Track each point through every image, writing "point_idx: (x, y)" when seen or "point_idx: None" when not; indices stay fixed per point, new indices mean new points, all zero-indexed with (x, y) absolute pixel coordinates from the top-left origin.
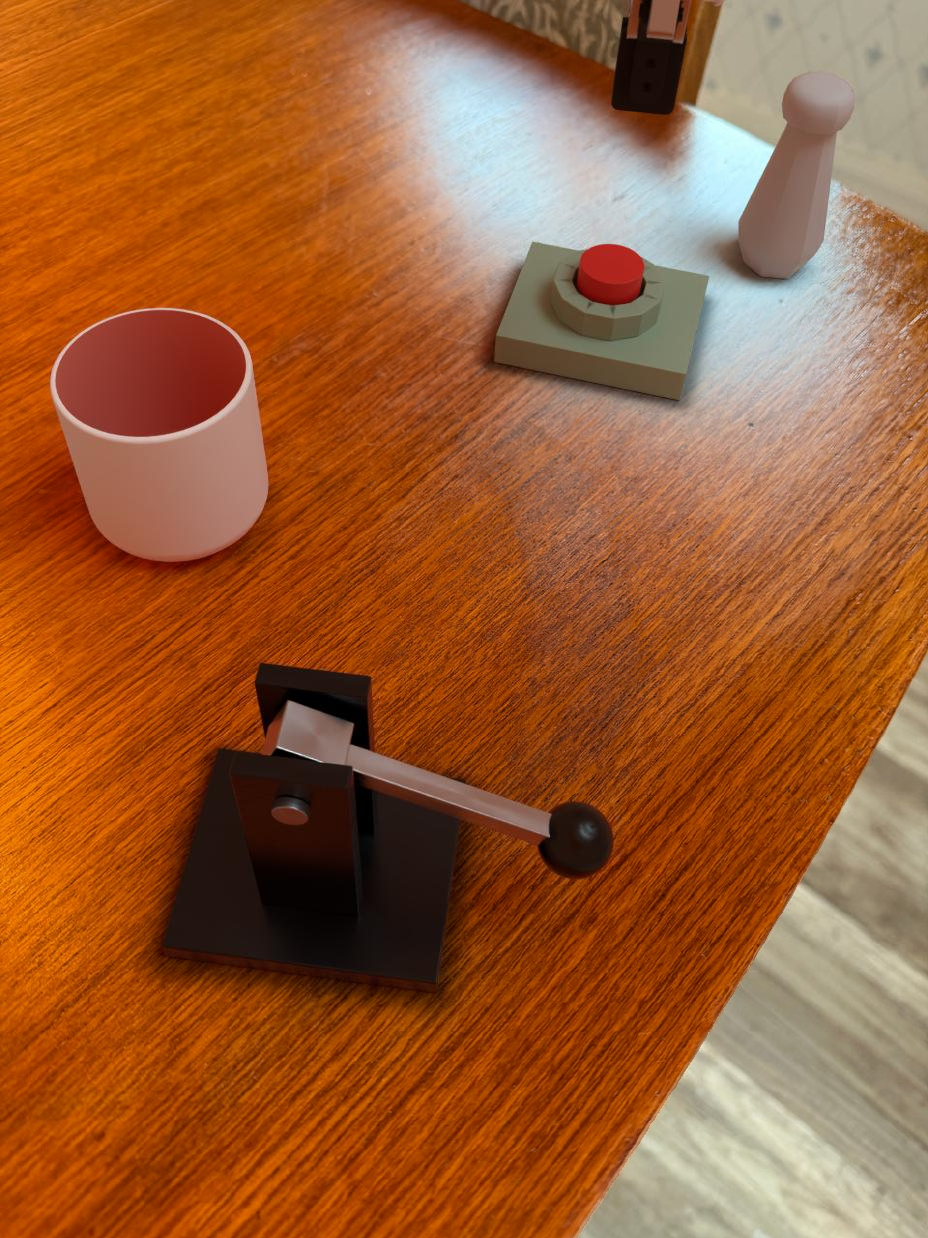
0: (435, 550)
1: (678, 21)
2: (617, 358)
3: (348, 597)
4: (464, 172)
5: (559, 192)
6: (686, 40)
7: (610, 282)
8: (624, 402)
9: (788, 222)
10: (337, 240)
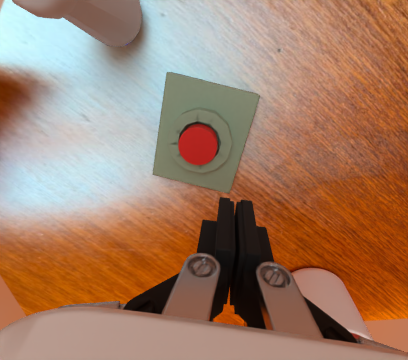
0: (347, 210)
1: (351, 337)
2: (246, 135)
3: (366, 239)
4: (88, 195)
5: (90, 150)
6: (260, 253)
7: (215, 149)
8: (258, 125)
9: (126, 9)
10: (152, 245)
